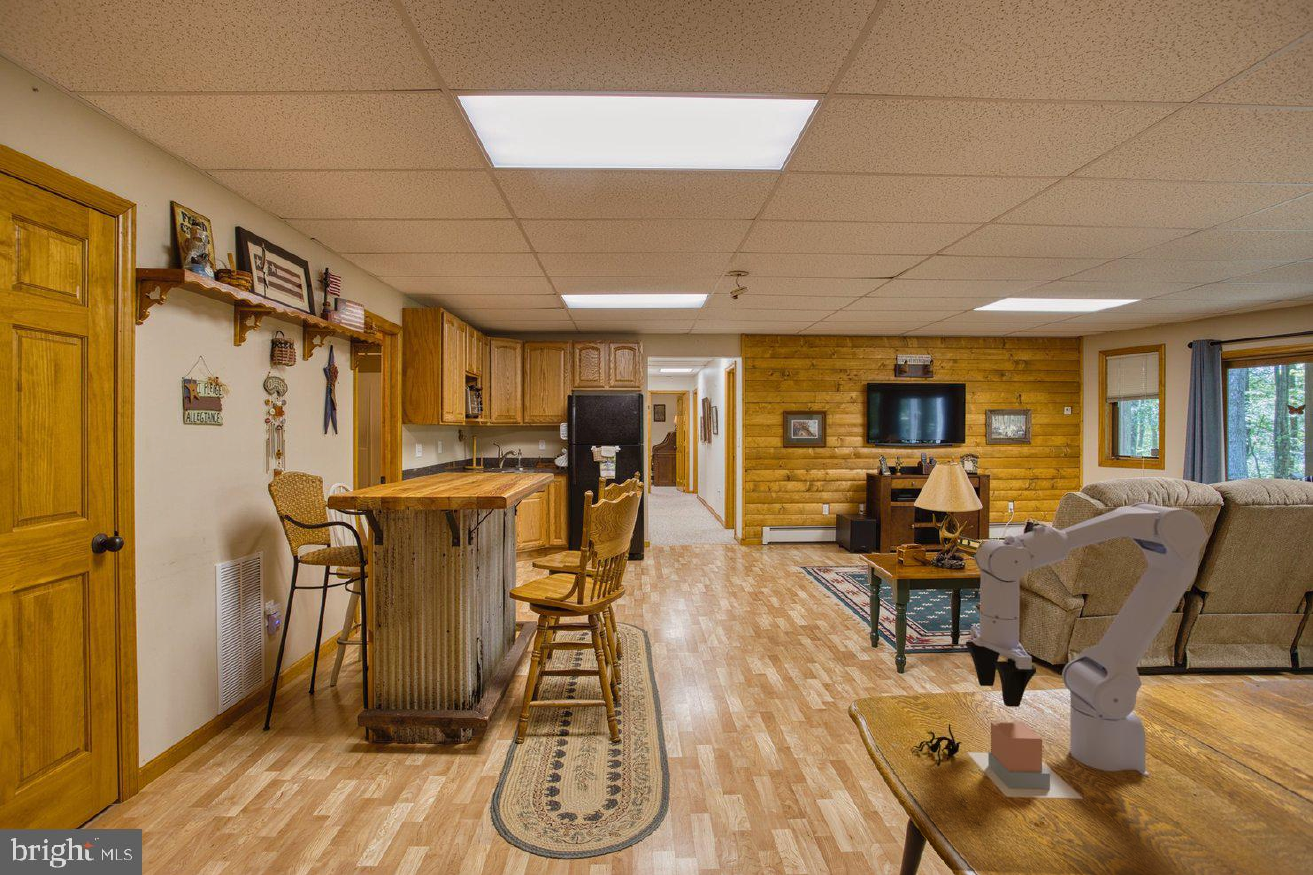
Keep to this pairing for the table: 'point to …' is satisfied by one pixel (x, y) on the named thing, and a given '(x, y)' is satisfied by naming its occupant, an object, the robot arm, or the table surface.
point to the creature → (936, 745)
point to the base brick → (1019, 776)
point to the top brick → (1016, 746)
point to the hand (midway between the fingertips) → (998, 695)
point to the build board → (1056, 789)
